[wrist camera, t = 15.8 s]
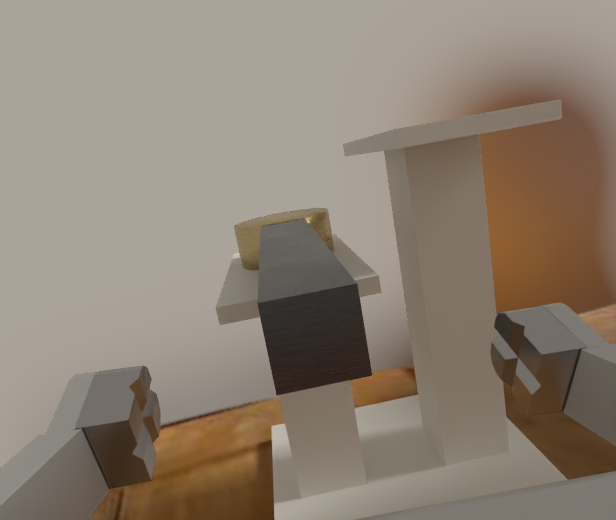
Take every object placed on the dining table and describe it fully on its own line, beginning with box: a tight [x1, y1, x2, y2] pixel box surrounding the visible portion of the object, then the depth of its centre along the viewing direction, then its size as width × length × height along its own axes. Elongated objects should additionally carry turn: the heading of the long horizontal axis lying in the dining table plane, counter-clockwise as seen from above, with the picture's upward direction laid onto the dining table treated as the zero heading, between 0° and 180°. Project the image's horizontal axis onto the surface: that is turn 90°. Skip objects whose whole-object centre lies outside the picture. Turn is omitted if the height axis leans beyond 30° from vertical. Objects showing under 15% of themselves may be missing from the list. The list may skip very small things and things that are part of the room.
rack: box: [216, 99, 568, 520], centre depth 34 cm, size 16×20×26 cm
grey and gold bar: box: [234, 208, 372, 395], centre depth 26 cm, size 24×7×3 cm, turn 6°
